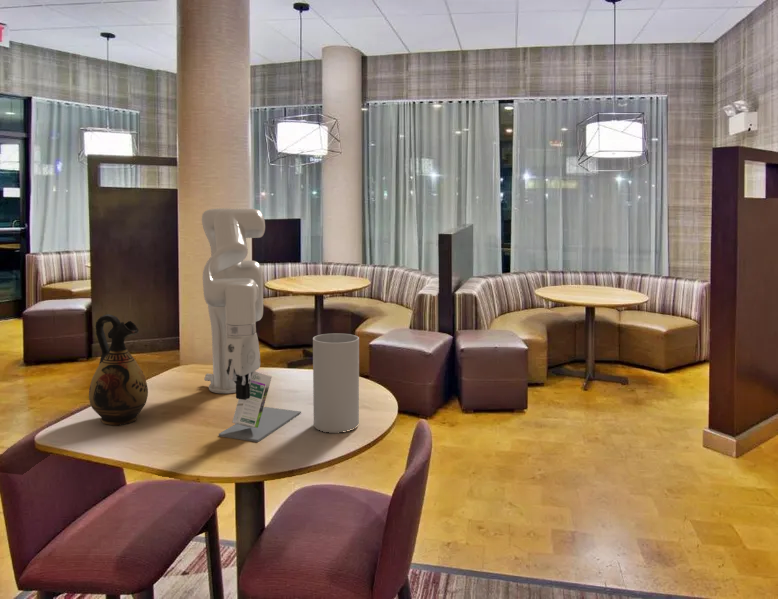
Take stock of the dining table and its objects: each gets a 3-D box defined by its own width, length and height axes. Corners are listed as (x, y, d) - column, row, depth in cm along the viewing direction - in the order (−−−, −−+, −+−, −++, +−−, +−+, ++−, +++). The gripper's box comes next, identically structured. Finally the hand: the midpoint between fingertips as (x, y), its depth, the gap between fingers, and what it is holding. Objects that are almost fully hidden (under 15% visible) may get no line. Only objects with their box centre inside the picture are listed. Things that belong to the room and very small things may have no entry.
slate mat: (218, 436, 167) (218, 433, 167) (265, 408, 190) (265, 406, 189) (258, 442, 163) (258, 439, 163) (301, 413, 186) (301, 411, 186)
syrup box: (237, 423, 164) (253, 369, 169) (231, 422, 170) (246, 370, 174) (257, 428, 167) (272, 375, 171) (251, 428, 172) (265, 376, 176)
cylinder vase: (317, 418, 182) (316, 333, 178) (360, 419, 181) (360, 333, 178) (310, 433, 169) (309, 342, 166) (356, 434, 169) (357, 343, 165)
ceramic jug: (160, 413, 185) (155, 312, 180) (128, 431, 170) (122, 322, 165) (108, 408, 188) (102, 309, 184) (73, 426, 173) (65, 319, 169)
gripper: (237, 336, 155) (239, 408, 158) (268, 325, 169) (270, 392, 172) (211, 334, 158) (214, 405, 160) (244, 324, 171) (246, 389, 174)
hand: (243, 398), depth 166 cm, fingers closed
